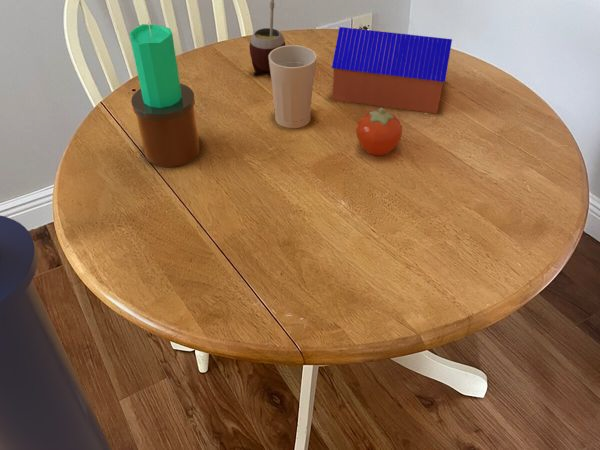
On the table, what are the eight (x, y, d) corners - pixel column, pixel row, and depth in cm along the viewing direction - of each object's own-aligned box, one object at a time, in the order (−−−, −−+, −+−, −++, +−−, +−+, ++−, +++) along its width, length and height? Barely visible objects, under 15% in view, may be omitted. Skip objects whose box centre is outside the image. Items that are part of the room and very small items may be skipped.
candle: (136, 94, 91) (120, 20, 83) (171, 83, 94) (159, 10, 85) (152, 112, 87) (137, 35, 79) (188, 99, 90) (177, 24, 82)
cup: (261, 117, 105) (258, 55, 97) (294, 101, 109) (294, 40, 101) (291, 136, 101) (290, 73, 93) (324, 119, 105) (326, 57, 96)
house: (438, 114, 106) (450, 55, 98) (330, 100, 109) (332, 41, 101) (443, 82, 114) (454, 24, 106) (342, 69, 118) (345, 13, 110)
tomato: (389, 133, 101) (394, 93, 96) (406, 158, 96) (412, 117, 91) (348, 140, 100) (351, 99, 94) (363, 166, 95) (367, 124, 89)
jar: (146, 173, 93) (133, 118, 86) (140, 139, 100) (128, 86, 93) (205, 163, 95) (198, 108, 88) (196, 130, 102) (189, 78, 95)
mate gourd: (260, 83, 114) (256, 8, 103) (243, 66, 119) (238, -8, 108) (294, 75, 116) (293, 0, 106) (276, 58, 121) (274, -15, 111)
